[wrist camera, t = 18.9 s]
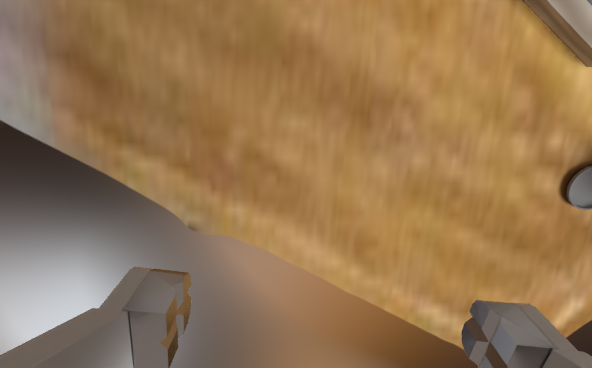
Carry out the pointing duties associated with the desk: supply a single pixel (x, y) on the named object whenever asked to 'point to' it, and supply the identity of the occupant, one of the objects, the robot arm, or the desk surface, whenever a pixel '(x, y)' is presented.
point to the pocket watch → (581, 189)
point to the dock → (568, 23)
